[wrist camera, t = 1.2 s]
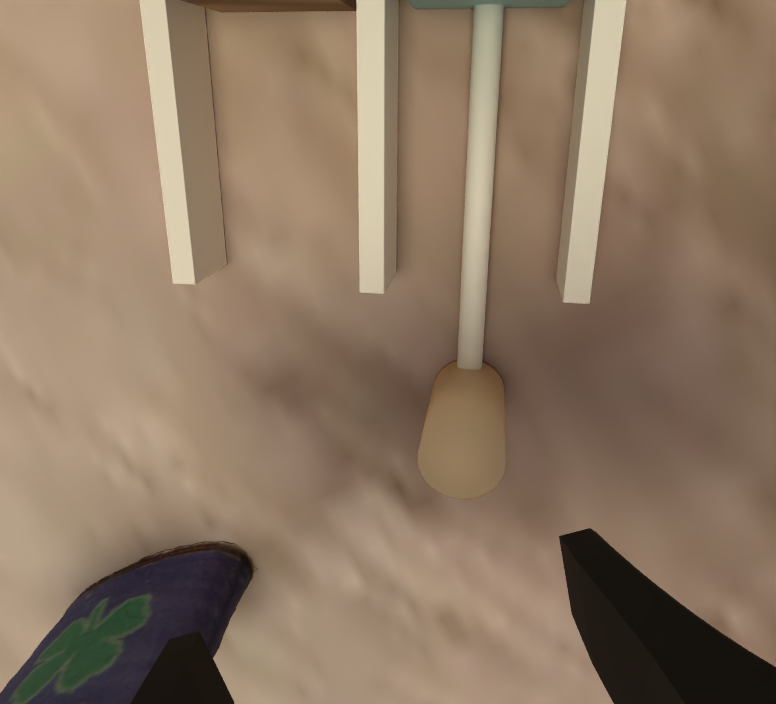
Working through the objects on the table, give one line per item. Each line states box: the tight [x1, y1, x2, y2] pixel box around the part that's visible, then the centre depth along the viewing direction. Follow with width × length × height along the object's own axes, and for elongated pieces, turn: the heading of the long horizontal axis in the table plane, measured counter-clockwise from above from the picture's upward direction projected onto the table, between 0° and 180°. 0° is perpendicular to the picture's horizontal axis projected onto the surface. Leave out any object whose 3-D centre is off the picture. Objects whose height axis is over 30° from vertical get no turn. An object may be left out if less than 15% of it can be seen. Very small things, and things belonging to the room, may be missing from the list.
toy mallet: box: [408, 0, 570, 499], centre depth 17 cm, size 4×17×4 cm, turn 0°
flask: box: [0, 541, 258, 704], centre depth 23 cm, size 9×3×11 cm, turn 117°
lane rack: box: [140, 0, 626, 304], centre depth 18 cm, size 12×14×2 cm
